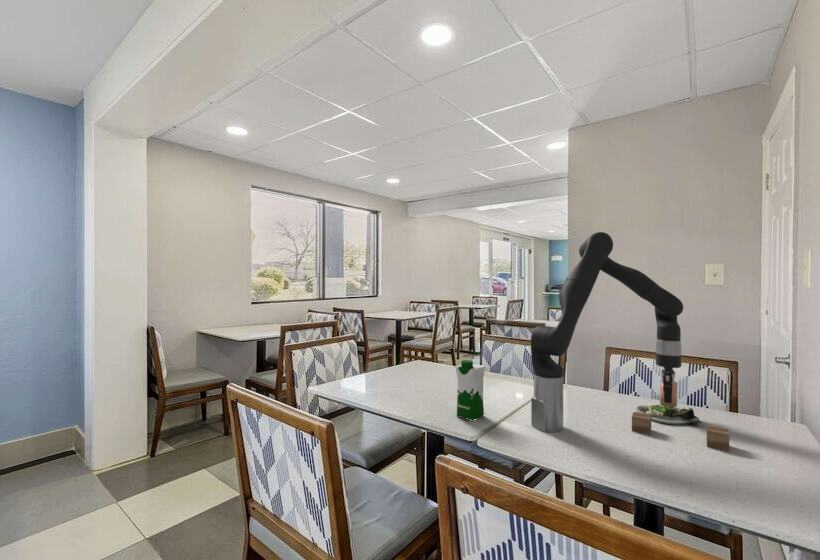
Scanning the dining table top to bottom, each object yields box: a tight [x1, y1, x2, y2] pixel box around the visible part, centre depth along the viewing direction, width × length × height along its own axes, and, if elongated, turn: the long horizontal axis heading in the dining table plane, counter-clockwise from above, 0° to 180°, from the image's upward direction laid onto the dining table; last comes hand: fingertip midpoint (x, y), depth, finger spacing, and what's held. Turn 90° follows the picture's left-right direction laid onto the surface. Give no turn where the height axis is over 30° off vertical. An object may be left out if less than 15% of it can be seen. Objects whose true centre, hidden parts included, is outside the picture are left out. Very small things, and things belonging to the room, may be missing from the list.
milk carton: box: [455, 359, 486, 420], centre depth 139 cm, size 9×9×20 cm
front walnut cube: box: [706, 424, 730, 452], centre depth 114 cm, size 5×5×5 cm
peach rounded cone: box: [659, 379, 678, 407], centre depth 137 cm, size 5×5×8 cm
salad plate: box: [635, 403, 702, 426], centre depth 137 cm, size 19×18×5 cm
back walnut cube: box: [631, 411, 652, 436], centre depth 126 cm, size 5×5×5 cm
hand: (668, 400), depth 137 cm, fingers closed on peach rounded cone, 5 cm apart
